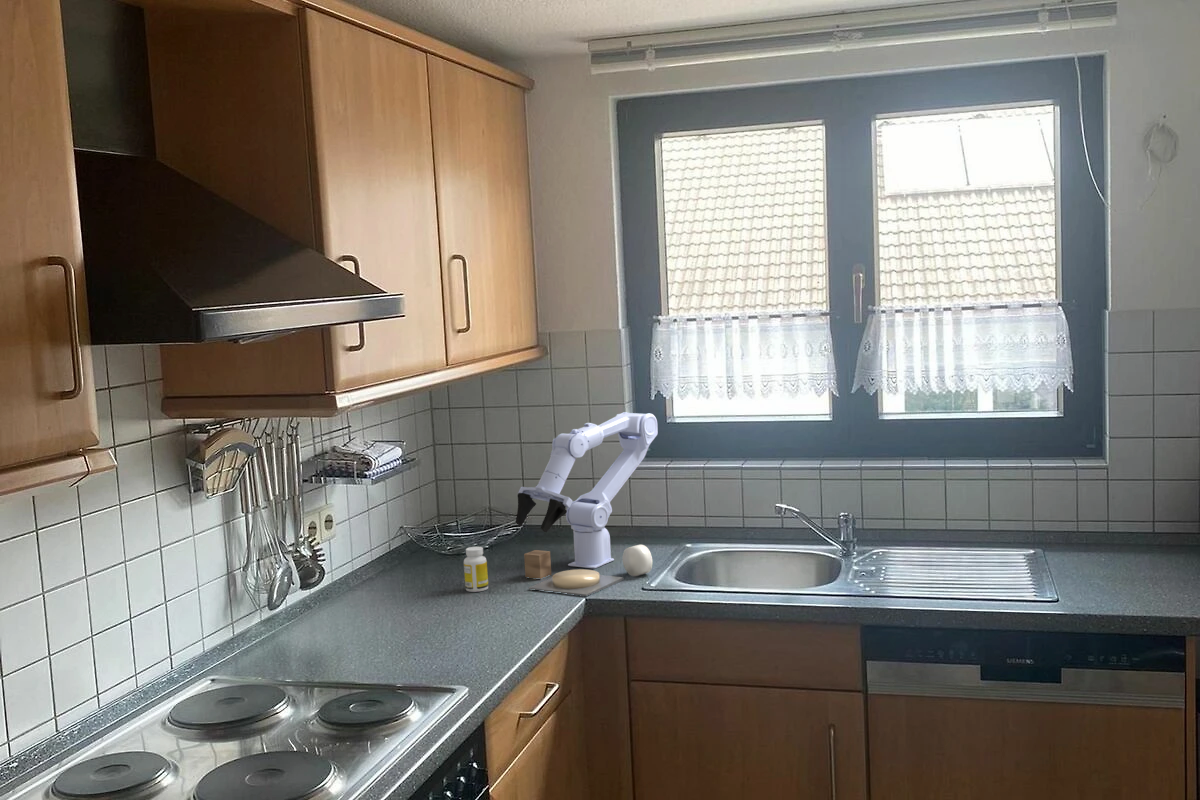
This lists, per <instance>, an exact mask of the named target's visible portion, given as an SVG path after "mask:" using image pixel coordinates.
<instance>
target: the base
mask: <svg viewBox="0 0 1200 800" xmlns="http://www.w3.org/2000/svg"><path fill="white" fill-rule="evenodd" d="M623 581H624V577H623V576H622V577H621V576H614V575H603V574H600V572H598V571H597V570H594V569H593V570H592V569H583V568H582V569H580V568H579V569H570V570H569V569H567V570H563V571H559V572H556V573H554V574H553V575H551V577H550V578H547V579H545V580H543V581H540V582H538V583H536V584H534V585H531V586H528V589H535V590H544V591H553V592H561V593H567V594H574V595H581V596H587V595H590V594H592V593H594V594H596V593H599V592H600V590H601V591H603V590H605V589H607V588H609V587H612V586H614V585H615V584H618V583H620V582H623ZM528 589H527V590H528ZM602 589H603V590H602ZM595 592H596V593H595ZM592 595H593V594H592ZM581 596H580V597H581ZM590 596H591V595H590Z"/></svg>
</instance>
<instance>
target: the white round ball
mask: <svg viewBox="0 0 1200 800" xmlns="http://www.w3.org/2000/svg"><path fill="white" fill-rule="evenodd" d="M622 564H623V568H624V570H625V571H626V573H627V574H628V575H629V576H632V577H638V576H642V575H645V574H648V573H650V572H651V571H652V568H653V557H652V553H651V551H650V549H649V548H648V547H647V546H646V545H644V544H637V545H633V546H630V547H626V548H625V549H624V550H623V553H622Z"/></svg>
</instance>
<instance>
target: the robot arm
mask: <svg viewBox="0 0 1200 800" xmlns="http://www.w3.org/2000/svg"><path fill="white" fill-rule="evenodd" d="M658 431H659V430H658V420H657V418H656V416H655V415H654V414H653V413H638V412H637V413H636V412H634V413H633V412H626V411H623V412H621V413H617V414H616V415H615V416H614V417H612V418H610V419H608V420H606V421H604V422H602V423H601V424H596V423H592V422H586V423H584V424H583V426H582V427H579V428H573V429H571V430H570V432H569V433H565V432H564V433H563V432H562V433H560V434H557V436H556V437H554V438H553V439H552V442H551V447H552V448H551V449H552V450H551V452H550V454H549V455H550V458H549V460H548V462H547V465H546V466H545V469H544V471H543V473H542V474H541V477H540V479H539V481H538V483H537V485H536V486H530V487H529V486H527V487H526V486H520V488H519V490H518V492H517V510H516V511H517V513H516V518H515V523H516V525H518V526H519V527H522V526H523V525H524V523H525V521H526V520H527V517H528V515H529V514H530V513H531V512H532V509H534V507H536V505H537V503H536V502H535V501H534V500H536V501H537V500H539V501H543V502H547V503H548V506H547V511H546V513H545V516H544V517H543V521H542V523H541V526H540V529H541V530H542V531H543V532H544V533H548V531H549V530H550V529H551V528H552V526H553V525H554V524H555V523H556V522H557V521H558V520H559V519H560V518H562V517H563V516H565V518H566V522H567V523H568V525H570V528H571V530H573V531H572V532H573V547H574V549H573V551H574V561H572V562H570V563H568V564H567V566H569V567H574V568H576V567H578V568H585V569H598V568H599V567H602V566H604V565H607V564H608V563H610V562H613V561H614V560H615V559H614V558H613V557H612V554H611V553H612V552H611V536H610V532H609V530H608V529H607V528H606V525H607V524H608V520H609V517H610V515H611V514H612V512H613V508H612V504H611V502H612V500H613V499H614V498H615V497H616V496H617V494H618V493H619V491H620V490H621V488H622V487H623V486H624V485H625V483H626V482H627V481H628V480H629V478H630V477H631V475H632V474H633V473H634V471H636V469H637V468H638V466H640V464H641V462H642V461H643V460H644V459H645V457H646V455H647V452H648V450H649V447H650V446H651V444H652V442H653V441H654V440H655V438H656V437H657V436H658ZM616 434H617V437H618V440H619V441H618V442H619V445H620V447H621V448H622V451H621V453H619V455H618V456H617V458H616V459H615V460H614V462H613V463H612V464H611V465H610V467H609V468H608V469H607V470H606V472H605V473H604V474H603V476H601V478H600V479H599V480H598V481H597V483H596V484H595V486H593V488H592V489H591V491H588V492H586V493H583V494H581V495H579V496H578V497H577V499H576V500H573V499H572V498H570V496H566V495H563V494H561V491H562V490H563V488H564V485H565V483H566V481H567V479H568V476H569V474H570V473H571V470H572V468H573V467H574V464H575V462H576V459H577V458H582V457H583V456H584V455H585V454H586V452H587V451H588V450H591V449H594V448H595V447H598V446H600V445H601V444H602V443H603V442H604V438H607V437H610V436H613V435H616Z"/></svg>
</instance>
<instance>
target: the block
mask: <svg viewBox="0 0 1200 800" xmlns="http://www.w3.org/2000/svg"><path fill="white" fill-rule="evenodd" d="M523 559H524V576H525V577H529V578H540V579H541V578H543V577H546V576H548V575H551V576H552V561H551V551H550V550H549V551H547V550H538V549H534V550H531V551H528V552H525V553H524V554H523Z"/></svg>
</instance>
